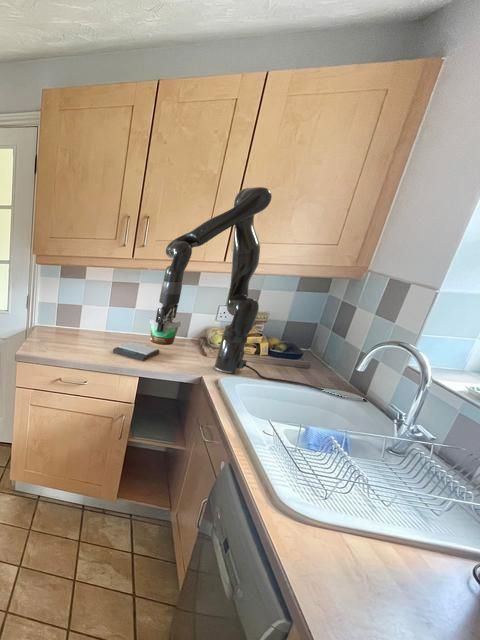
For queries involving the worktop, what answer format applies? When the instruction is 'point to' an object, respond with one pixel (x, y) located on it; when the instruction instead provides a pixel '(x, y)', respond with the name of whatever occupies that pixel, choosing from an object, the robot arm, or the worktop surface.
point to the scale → (136, 351)
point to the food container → (164, 332)
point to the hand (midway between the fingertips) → (163, 330)
